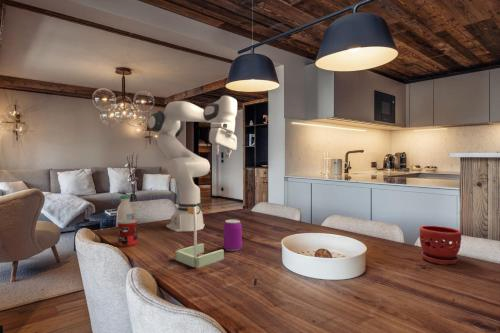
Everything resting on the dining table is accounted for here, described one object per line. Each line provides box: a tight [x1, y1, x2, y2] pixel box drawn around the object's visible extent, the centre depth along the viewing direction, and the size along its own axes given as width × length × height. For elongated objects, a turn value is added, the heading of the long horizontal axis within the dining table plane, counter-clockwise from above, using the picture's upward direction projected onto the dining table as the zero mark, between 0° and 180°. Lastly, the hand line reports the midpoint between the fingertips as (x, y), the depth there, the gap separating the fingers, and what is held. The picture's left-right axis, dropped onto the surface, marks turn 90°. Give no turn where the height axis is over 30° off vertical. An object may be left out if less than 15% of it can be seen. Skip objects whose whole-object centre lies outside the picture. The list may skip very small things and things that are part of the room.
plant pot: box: [419, 225, 462, 265], centre depth 113 cm, size 13×13×12 cm
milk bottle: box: [117, 194, 135, 222], centre depth 156 cm, size 8×8×20 cm
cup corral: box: [174, 207, 225, 269], centre depth 117 cm, size 13×13×22 cm
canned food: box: [117, 218, 138, 248], centre depth 137 cm, size 8×8×11 cm
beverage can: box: [223, 218, 243, 252], centre depth 130 cm, size 8×8×12 cm
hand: (222, 156), depth 147 cm, fingers open, 8 cm apart
